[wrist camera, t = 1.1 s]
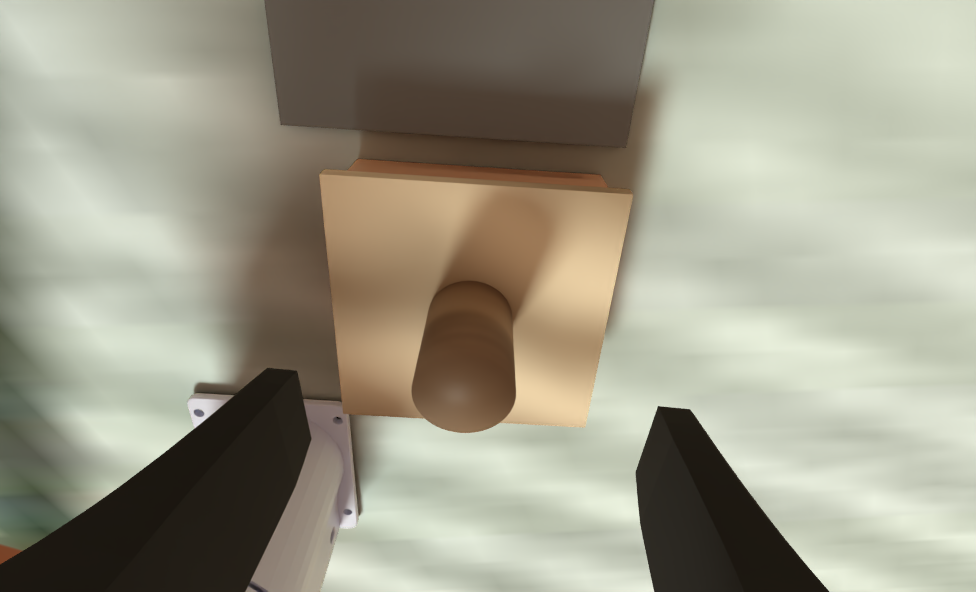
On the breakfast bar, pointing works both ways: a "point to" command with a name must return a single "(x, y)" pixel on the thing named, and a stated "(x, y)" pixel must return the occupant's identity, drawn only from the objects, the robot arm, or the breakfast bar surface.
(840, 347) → the breakfast bar surface
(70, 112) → the breakfast bar surface
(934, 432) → the breakfast bar surface
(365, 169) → the dish
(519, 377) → the lid
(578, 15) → the mat
